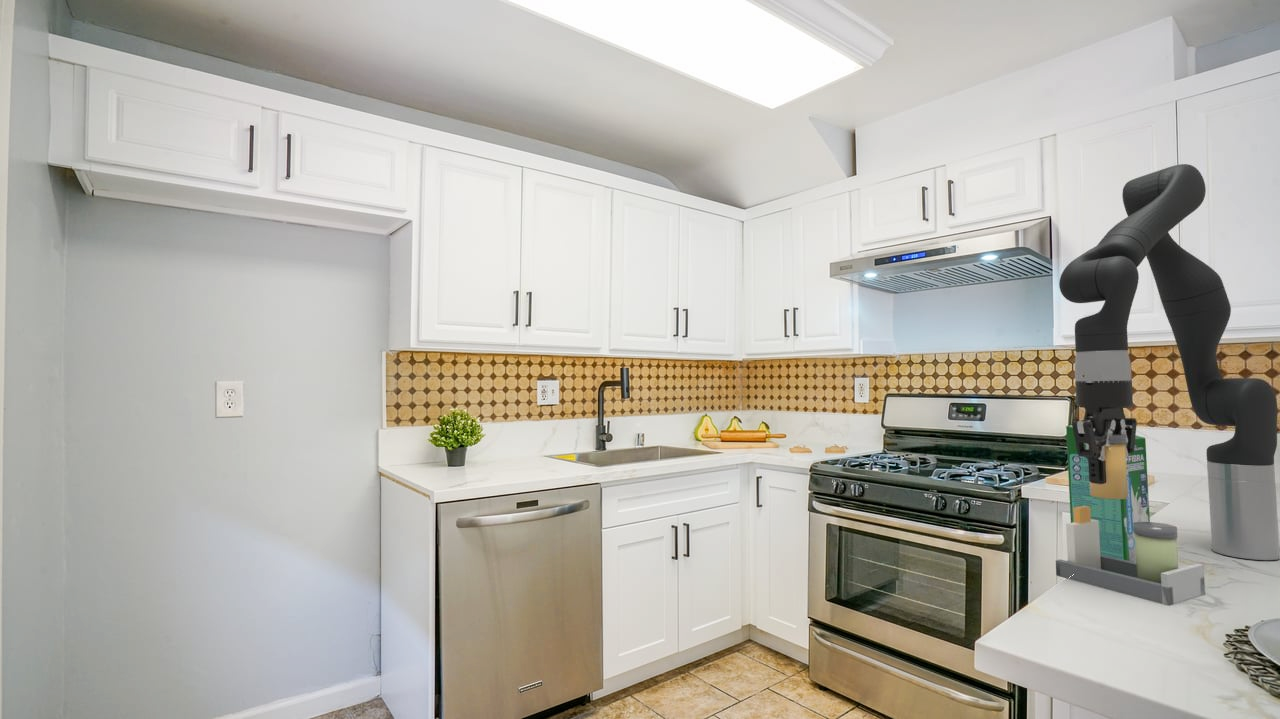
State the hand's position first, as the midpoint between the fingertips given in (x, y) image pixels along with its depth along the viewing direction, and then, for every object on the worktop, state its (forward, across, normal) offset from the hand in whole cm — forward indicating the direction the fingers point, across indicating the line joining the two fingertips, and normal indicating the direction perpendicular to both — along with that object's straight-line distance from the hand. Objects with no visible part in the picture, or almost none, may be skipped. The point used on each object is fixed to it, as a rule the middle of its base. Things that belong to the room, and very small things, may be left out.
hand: (1107, 481), depth 102 cm
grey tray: (+17, 0, +3) cm, 17 cm away
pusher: (+16, 0, -4) cm, 16 cm away
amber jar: (+2, 0, 0) cm, 2 cm away
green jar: (+16, 0, +6) cm, 17 cm away
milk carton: (+17, -16, -9) cm, 25 cm away
